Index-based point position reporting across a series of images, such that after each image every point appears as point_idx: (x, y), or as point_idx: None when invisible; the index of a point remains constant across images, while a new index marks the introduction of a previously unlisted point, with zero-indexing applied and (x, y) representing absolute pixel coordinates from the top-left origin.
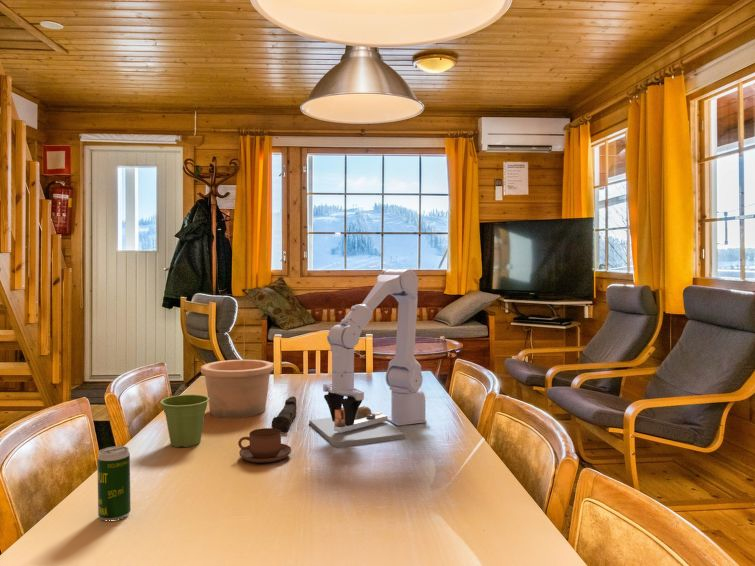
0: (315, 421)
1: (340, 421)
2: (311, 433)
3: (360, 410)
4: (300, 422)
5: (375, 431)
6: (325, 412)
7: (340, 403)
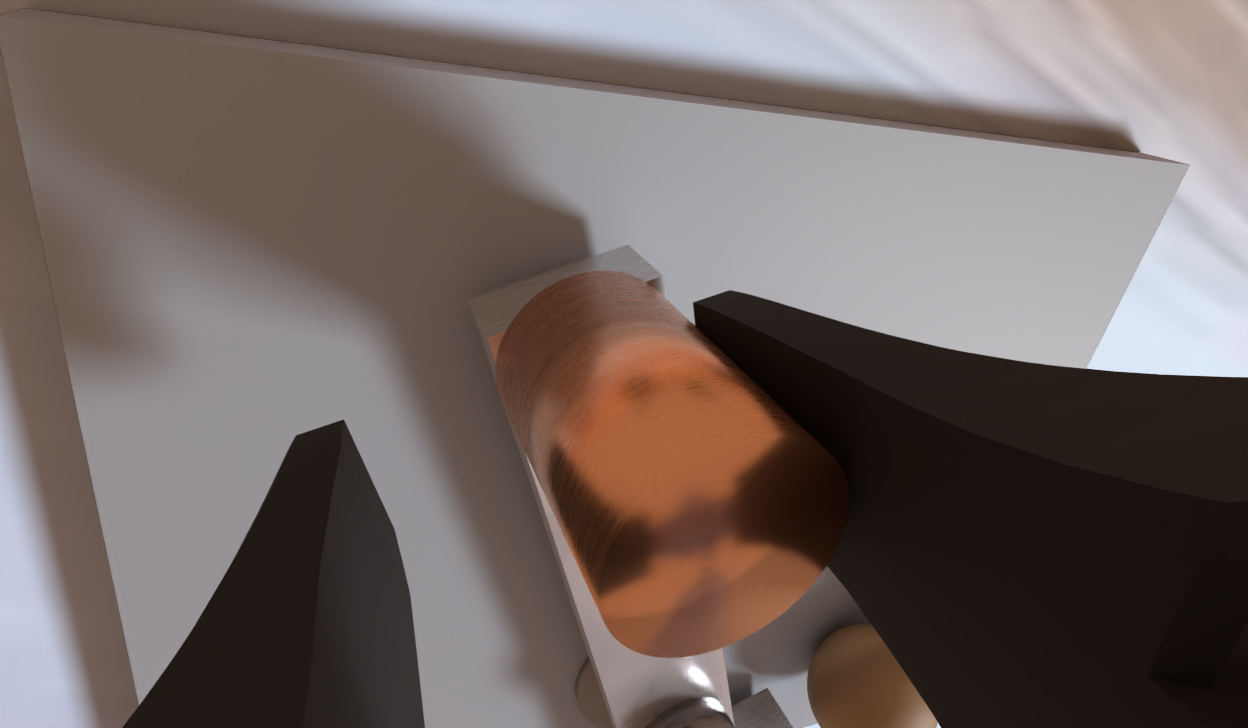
0: (1109, 206)
1: (530, 388)
2: (905, 7)
3: (904, 683)
4: (1241, 94)
5: None
6: None
7: (907, 639)
